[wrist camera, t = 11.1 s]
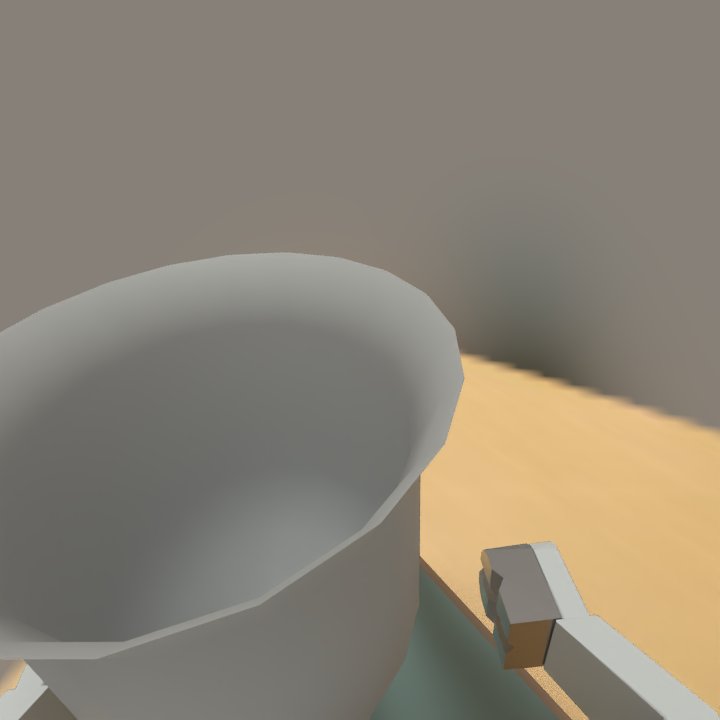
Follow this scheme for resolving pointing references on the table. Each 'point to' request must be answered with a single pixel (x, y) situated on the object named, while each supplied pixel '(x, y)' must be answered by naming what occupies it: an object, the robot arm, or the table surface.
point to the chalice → (220, 487)
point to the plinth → (458, 668)
